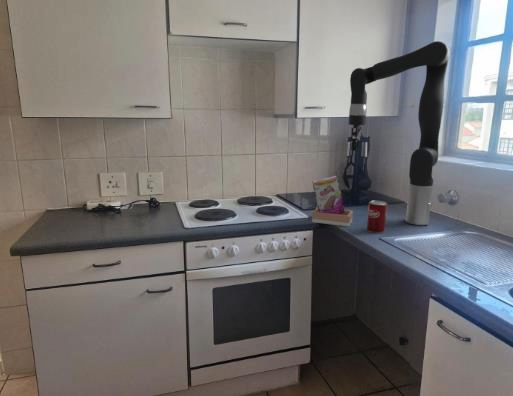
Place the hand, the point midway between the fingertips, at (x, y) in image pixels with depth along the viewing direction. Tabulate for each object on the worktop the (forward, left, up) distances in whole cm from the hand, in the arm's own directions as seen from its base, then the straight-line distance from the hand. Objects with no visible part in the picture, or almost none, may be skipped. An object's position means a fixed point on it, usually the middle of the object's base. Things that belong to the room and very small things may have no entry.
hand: (354, 149), depth 179 cm
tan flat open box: (+5, +20, -30) cm, 36 cm away
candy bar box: (+5, +19, -27) cm, 34 cm away
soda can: (-14, +26, -30) cm, 42 cm away
